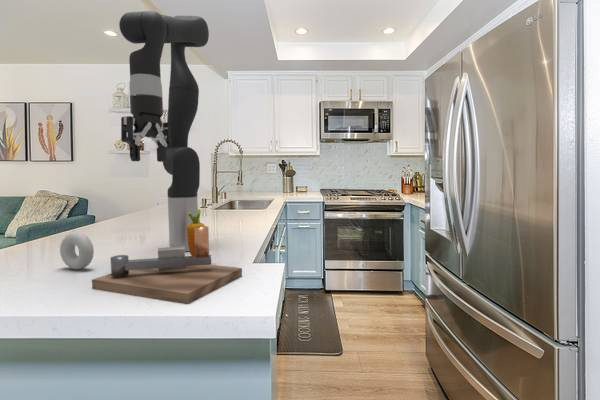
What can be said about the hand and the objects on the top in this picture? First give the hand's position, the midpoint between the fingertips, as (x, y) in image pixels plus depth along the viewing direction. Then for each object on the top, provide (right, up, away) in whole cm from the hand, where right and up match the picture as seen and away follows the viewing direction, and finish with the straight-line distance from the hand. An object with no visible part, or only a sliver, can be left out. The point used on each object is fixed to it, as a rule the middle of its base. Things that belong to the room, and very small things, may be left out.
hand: (149, 161), depth 93 cm
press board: (+8, -29, -7) cm, 31 cm away
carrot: (+10, -28, +9) cm, 31 cm away
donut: (-21, -28, +4) cm, 35 cm away
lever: (+6, -26, -7) cm, 28 cm away
